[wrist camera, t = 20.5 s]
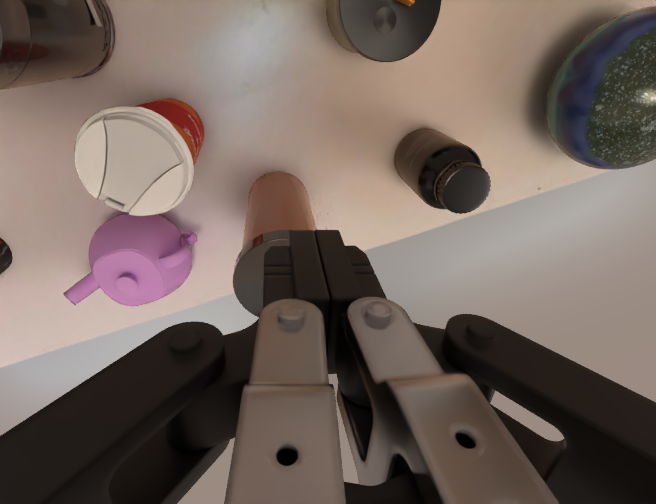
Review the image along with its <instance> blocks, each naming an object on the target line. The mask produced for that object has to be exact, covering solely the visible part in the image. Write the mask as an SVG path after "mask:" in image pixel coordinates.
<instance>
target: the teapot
mask: <svg viewBox="0 0 656 504" xmlns="http://www.w3.org/2000/svg"><path fill="white" fill-rule="evenodd" d="M196 241H197V236H196V234H195V233H194V232H186V233H183V234H182V233H181V232H180V231H179V230H178V229H177V228H176V227H175V226H174V225H173V224H172V223H171V222H170V221H168V220H167V219H165V218H164V217H162V216H161V215H158V214H155V215H146V216H134V215H129V213H126V214H122V215H119V216H117V217H115V218H112V219H111V220H109V221H107V222H106V223H104V224H103V225H102V226H100V227H99V229H98V230H97V231H96V232H95V234H94V236H93V238H92V240H91V243H90V247H89V261H90V266H91V270H92V272H91V273H89V274H88V275H87V276H85V277H84V278H83V279H81V280H80V281H79V282H78V283H76V284H75V285H74V286H72V287H71V288H70V289H68V290H67V291H66V292H65V293H63V294H64V295H65V297H66V298H67V299H68V300H70V301H71V302H72V303H73V304H75V305H76V304H78V303H79V302H80V301H82V300H83V299H84V298H86V297H87V296H89V295H90V294H91V293H93V292H94V291H95V290H97V289H98V288H101V289H102V290H103V292H104V293H105V294H107V295H108V296H109V297H110V298H111V299H113V300H114V301H116V302H118V303H120V304H122V305H126V306H139V305H143V304H147V303H150V302H153V301H155V300H158V299H160V298H162V297H164V296H166V295H168V294H170V293H171V292H173V291H174V290H176V289H177V288H178V287H180V286H181V285H182V284H183V282H184V281H185V280H186V278H187V277H188V275H189V273H190V271H191V268H192V255H191V251H190V248H189V245H191V244H194V243H195V242H196Z"/></svg>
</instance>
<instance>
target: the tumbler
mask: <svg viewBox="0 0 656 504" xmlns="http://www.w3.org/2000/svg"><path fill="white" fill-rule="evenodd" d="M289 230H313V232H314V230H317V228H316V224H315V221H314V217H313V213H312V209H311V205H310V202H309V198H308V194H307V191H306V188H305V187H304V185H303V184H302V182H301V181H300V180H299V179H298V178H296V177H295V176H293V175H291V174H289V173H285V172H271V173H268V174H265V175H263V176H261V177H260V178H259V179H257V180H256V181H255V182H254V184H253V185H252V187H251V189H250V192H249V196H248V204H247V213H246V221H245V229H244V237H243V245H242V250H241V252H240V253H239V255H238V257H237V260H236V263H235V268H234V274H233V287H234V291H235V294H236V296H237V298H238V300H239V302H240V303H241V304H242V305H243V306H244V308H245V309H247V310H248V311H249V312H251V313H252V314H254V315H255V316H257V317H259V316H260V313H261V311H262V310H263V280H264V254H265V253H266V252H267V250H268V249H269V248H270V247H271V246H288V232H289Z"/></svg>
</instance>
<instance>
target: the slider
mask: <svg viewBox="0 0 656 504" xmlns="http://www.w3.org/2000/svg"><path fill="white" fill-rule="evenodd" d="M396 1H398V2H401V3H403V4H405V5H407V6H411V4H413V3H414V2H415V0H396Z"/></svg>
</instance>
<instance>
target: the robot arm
mask: <svg viewBox="0 0 656 504" xmlns="http://www.w3.org/2000/svg"><path fill="white" fill-rule="evenodd" d="M114 42H115V30H114V23H113V19H112V16H111V13H110V10H109V8H108V6H107V3H106V1H105V0H0V90H5V89H11V88H16V87H22V86H28V85H33V84H39V83H44V82H50V81H55V80H62V79H67V78H80V77H85V76H89V75H91V74H94V73H96V72H97V71H99V70H100V69H101V68H102V67H103V66H104V65H105V64H106V63H107V62H108V60H109V58H110V57H111V54H112V51H113V48H114ZM328 374H337V378H338V382H339V383H338V391H337V402H338V406H339V409H340V413H341V417H342V420H343V424H344V427H345V431H346V434H347V438H348V441H349V445H350V448H351V452H352V455H353V459H354V462H355V466H356V470H357V474H358V480H359V484H354V483H347V482H344V480H343V470H342V460H341V450H340V440H339V430H338V420H337V411H336V400H335V391H334V387H333V385H332V384H329V379H328ZM495 390H496V391H498V392H499V393H501V394H502V395H504V396H506V397H507V398H509V399H511V400H513V401H514V402H516V403H517V404H519V405H521V406H522V407H524V408H526V409H527V410H529V411H530V412H532V413H534V414H535V415H537V416H539V417H540V418H542V419H544V420H545V421H547V422H548V423H550V424H552V425H553V426H555V427H556V428H557V429H558V430H559V431H560V432H561V433H562V434H563V436H564V439H563V440H562V441H558V442H556V441H550V440H547V439H545V438H543V437H541V436H540V435H538V434H536V433H535V432H533V431H532V430H530V429H529V428H527V427H525V426H524V425H522V424H521V423H519V422H518V421H516V420H514V419H512V418H511V417H510V416H508V415H507V414H505V413H503V412H502V411H500V410H498V409H497V408H496V407H494V406H492V405H491V404H490V402H491V400H492V397H493V395H494V392H495ZM234 437H235V442H234V448H233V454H232V460H231V466H230V472H229V478H228V484H227V490H226V497H225V502H224V504H656V403H655V402H654V401H651V400H650V399H648V398H646V397H643V396H642V395H640V394H637V393H635V392H633V391H631V390H629V389H628V388H626V387H623V386H622V385H619V384H618V383H615V382H613V381H611V380H609V379H607V378H606V377H604V376H601V375H599V374H598V373H596V372H593V371H592V370H590V369H588V368H585V367H584V366H582V365H580V364H578V363H576V362H574V361H572V360H569V359H568V358H565V357H564V356H562V355H560V354H558V353H556V352H554V351H552V350H549V349H547V348H546V347H544V346H542V345H539V344H538V343H536V342H533V341H532V340H530V339H528V338H526V337H524V336H522V335H520V334H517V333H516V332H514V331H512V330H510V329H508V328H506V327H504V326H502V325H500V324H498V323H496V322H494V321H491V320H489V319H487V318H484V317H482V316H478V315H472V314H460V315H456V316H454V317H452V318H450V319H449V321H448V323H447V325H446V328H445V329H440V328H434V327H429V326H424V325H420V324H416V323H413V322H412V321H411V319H410V317H409V316H408V314H407V313H406V311H405V310H404V309H403V308H402V307H401V306H399V305H398V304H396V303H394V302H393V301H390V300H388V299H387V298H386V296H385V294H384V292H383V290H382V288H381V285H380V283H379V281H378V279H377V277H376V275H375V274H374V270H373V268H372V266H371V264H370V262H369V259H368V257H367V255H366V254H365V253H364V252H363V251H361V250H360V249H359V248H358V247H356V246H344V243H343V240H342V238H341V235H340V232H339V230H314V232H313V230H289V232H288V246H271V247H270V248H269V249H268V250H267V252H266V253H265V254H264V280H263V310H262V311H261V313H260V316H259V319H258V320H257V321H256V322H255V323H254V324H252V325H251V326H249V327H247V328H245V329H243V330H241V331H238V332H235V333H231V334H227V335H222V333H221V332H220V331H219V329H217V328H216V327H215V326H213V325H210V324H208V323H204V322H185V323H180V324H177V325H173V326H171V327H168V328H166V329H165V330H163V331H161V332H160V333H158V334H157V335H155V336H153V337H152V338H150V339H149V340H148V341H146V342H144V343H143V344H141V345H140V346H138V347H137V348H135V349H134V350H132V351H130V352H129V353H127V354H126V355H125V356H123V357H121V358H120V359H118V360H117V361H115V362H113V363H112V364H110V365H109V366H107V367H106V368H104V369H103V370H101V371H100V372H98V373H97V374H95V375H94V376H92V377H90V378H89V379H87V380H86V381H84V382H83V383H81V384H80V385H78V386H77V387H75V388H73V389H72V390H70V391H69V392H67V393H66V394H64V395H63V396H61V397H60V398H58V399H57V400H55V401H54V402H52V403H50V404H49V405H47V406H46V407H44V408H43V409H41V410H40V411H38V412H37V413H35V414H33V415H32V416H30V417H29V418H27V419H26V420H25V421H23V422H21V423H20V424H18V425H17V426H15V427H13V428H12V429H11V430H9V431H7V432H6V433H4V434H3V435H1V436H0V504H177V503H178V502H179V501H180V500H181V499H182V497H183V496H184V495H185V494H186V493H187V492H188V491H189V490H190V489H191V487H192V486H193V485H194V484H195V483H196V482H197V481H198V479H199V478H200V477H201V476H202V475H203V474H204V473H205V472H206V471H207V469H208V468H209V467H210V466H211V465H212V464H213V463H214V462H215V461H216V459H217V458H218V457H219V456H220V455H221V454H222V453H223V451H224V450H225V449H226V447H227V445H228V444H229V441H230V439H232V438H234Z"/></svg>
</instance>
